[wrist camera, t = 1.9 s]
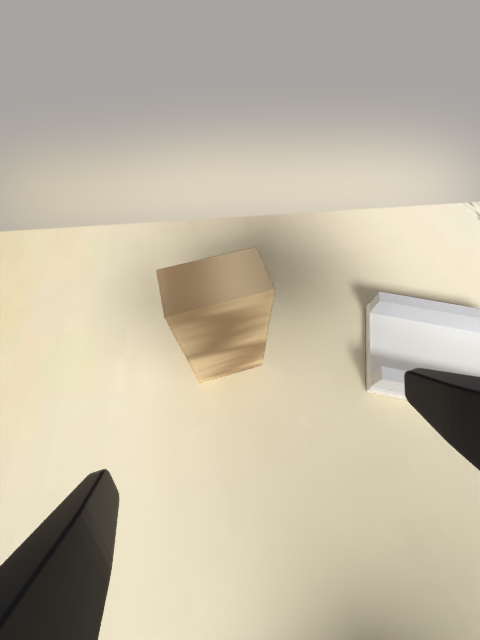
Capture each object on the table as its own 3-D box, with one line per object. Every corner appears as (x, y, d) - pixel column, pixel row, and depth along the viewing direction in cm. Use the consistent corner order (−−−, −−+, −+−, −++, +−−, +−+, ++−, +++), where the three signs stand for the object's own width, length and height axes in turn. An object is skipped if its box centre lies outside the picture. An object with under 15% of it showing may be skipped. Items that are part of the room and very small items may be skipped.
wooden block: (251, 335, 24) (255, 246, 14) (262, 364, 22) (275, 289, 13) (192, 351, 23) (156, 270, 13) (200, 383, 22) (164, 317, 12)
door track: (489, 329, 24) (518, 313, 21) (515, 424, 20) (554, 418, 17) (366, 306, 25) (379, 289, 23) (366, 391, 21) (382, 381, 19)
